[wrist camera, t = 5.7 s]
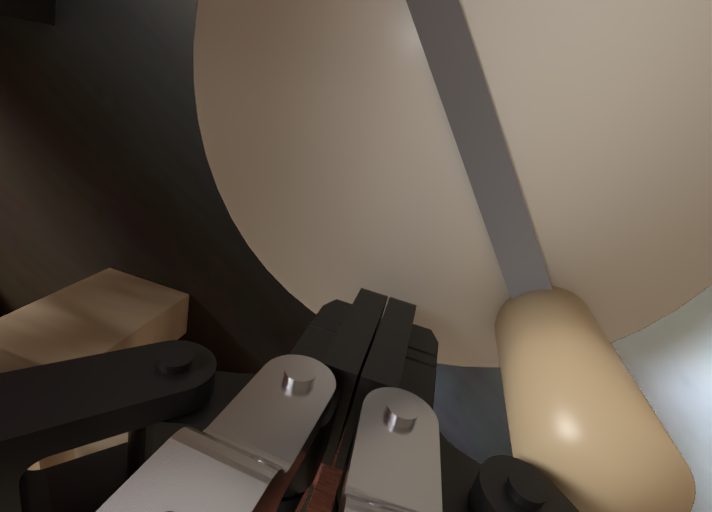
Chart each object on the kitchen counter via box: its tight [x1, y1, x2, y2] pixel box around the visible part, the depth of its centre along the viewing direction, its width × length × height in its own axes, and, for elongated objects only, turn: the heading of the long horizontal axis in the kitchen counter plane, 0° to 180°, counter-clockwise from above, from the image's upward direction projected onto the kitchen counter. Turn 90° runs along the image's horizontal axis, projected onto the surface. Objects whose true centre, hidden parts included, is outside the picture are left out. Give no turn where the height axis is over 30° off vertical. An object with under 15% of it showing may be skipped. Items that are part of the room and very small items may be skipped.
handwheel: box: [193, 0, 712, 512], centre depth 8 cm, size 14×14×6 cm
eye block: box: [0, 268, 189, 470], centre depth 17 cm, size 4×9×7 cm, turn 167°
